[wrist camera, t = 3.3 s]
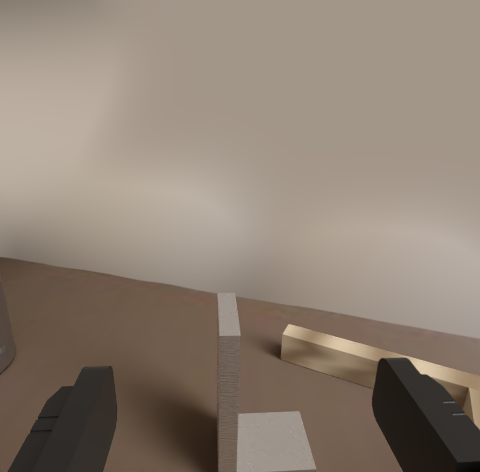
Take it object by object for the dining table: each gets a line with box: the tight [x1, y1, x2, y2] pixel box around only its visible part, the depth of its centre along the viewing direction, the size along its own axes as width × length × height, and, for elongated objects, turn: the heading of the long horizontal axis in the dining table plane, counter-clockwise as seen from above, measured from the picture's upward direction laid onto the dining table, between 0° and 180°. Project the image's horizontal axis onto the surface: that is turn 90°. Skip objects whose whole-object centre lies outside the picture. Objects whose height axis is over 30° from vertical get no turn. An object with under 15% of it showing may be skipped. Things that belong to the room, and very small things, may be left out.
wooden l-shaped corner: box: [281, 324, 480, 430], centre depth 28 cm, size 18×16×3 cm
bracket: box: [217, 293, 316, 472], centre depth 26 cm, size 7×5×12 cm
